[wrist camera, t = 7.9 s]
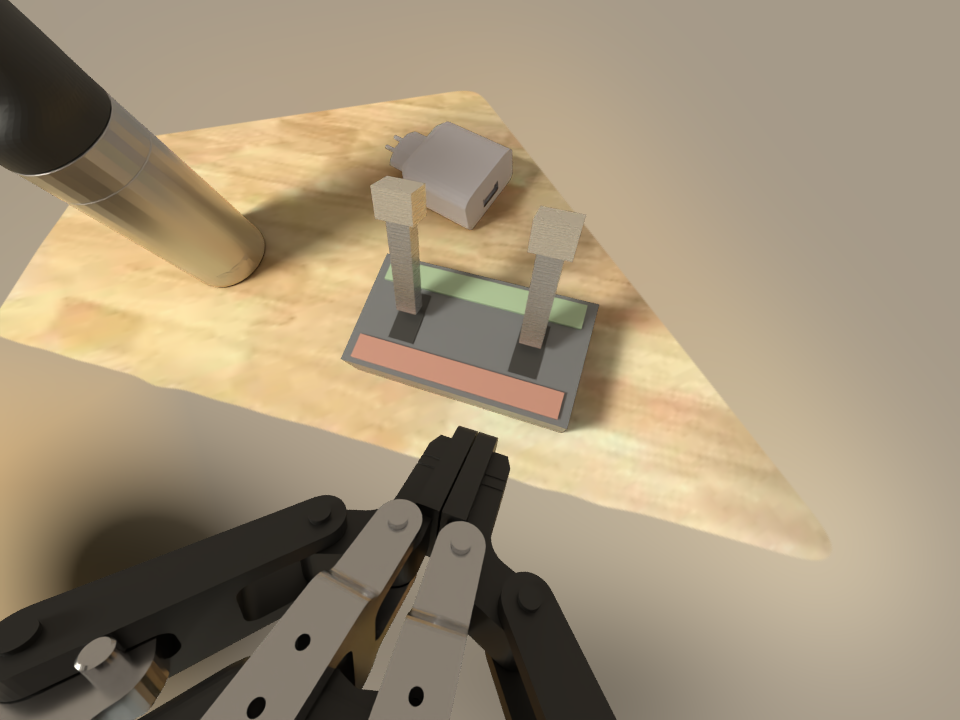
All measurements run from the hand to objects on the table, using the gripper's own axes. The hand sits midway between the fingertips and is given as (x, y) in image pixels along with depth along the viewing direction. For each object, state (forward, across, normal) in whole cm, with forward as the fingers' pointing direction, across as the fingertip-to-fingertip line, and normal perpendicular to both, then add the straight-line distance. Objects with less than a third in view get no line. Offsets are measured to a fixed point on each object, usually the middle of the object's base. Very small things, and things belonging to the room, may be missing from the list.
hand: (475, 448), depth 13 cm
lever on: (+20, +12, +5) cm, 24 cm away
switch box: (+22, +6, +8) cm, 25 cm away
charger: (+37, +17, -6) cm, 41 cm away
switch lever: (+20, 0, +5) cm, 20 cm away
